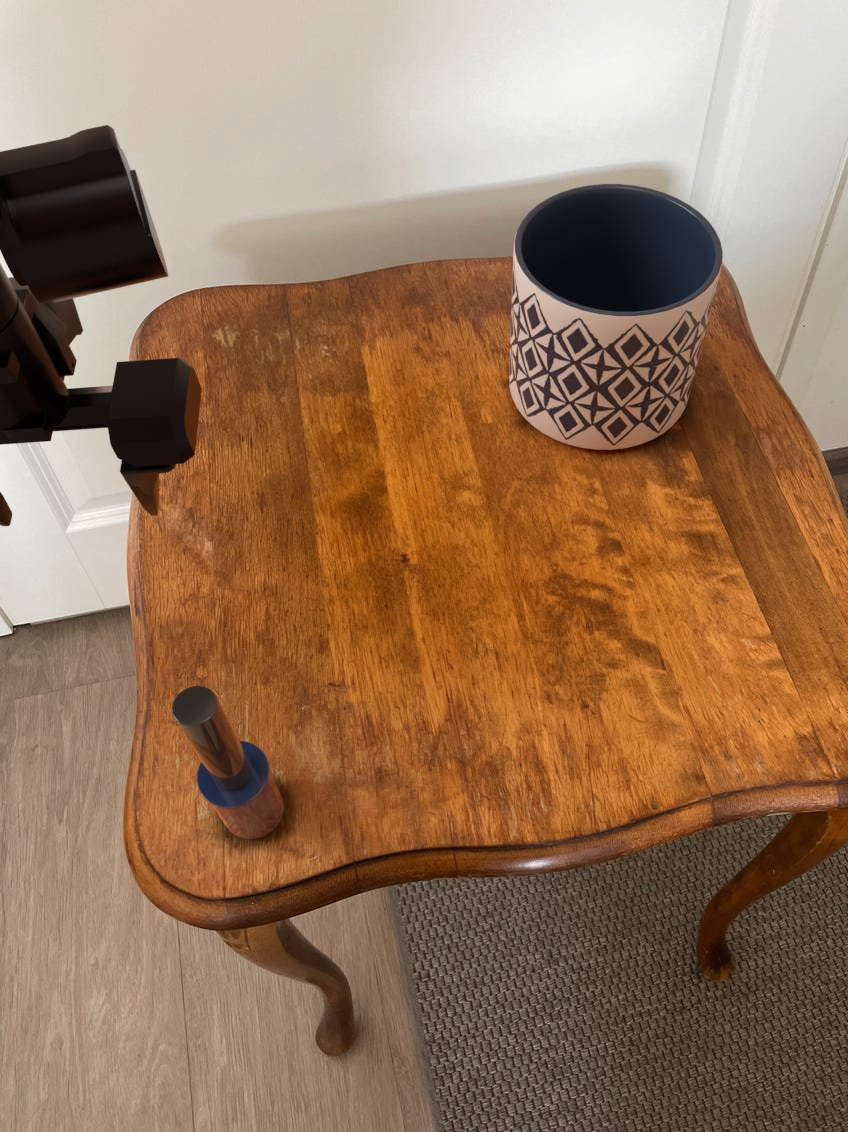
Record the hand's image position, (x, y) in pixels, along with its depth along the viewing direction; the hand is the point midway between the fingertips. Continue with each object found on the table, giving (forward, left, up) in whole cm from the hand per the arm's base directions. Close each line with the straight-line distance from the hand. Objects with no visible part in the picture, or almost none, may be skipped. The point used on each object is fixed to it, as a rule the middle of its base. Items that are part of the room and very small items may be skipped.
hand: (82, 515), depth 59 cm
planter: (+38, +21, -13) cm, 46 cm away
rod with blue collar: (+8, -16, -7) cm, 19 cm away
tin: (+8, -16, -13) cm, 22 cm away
